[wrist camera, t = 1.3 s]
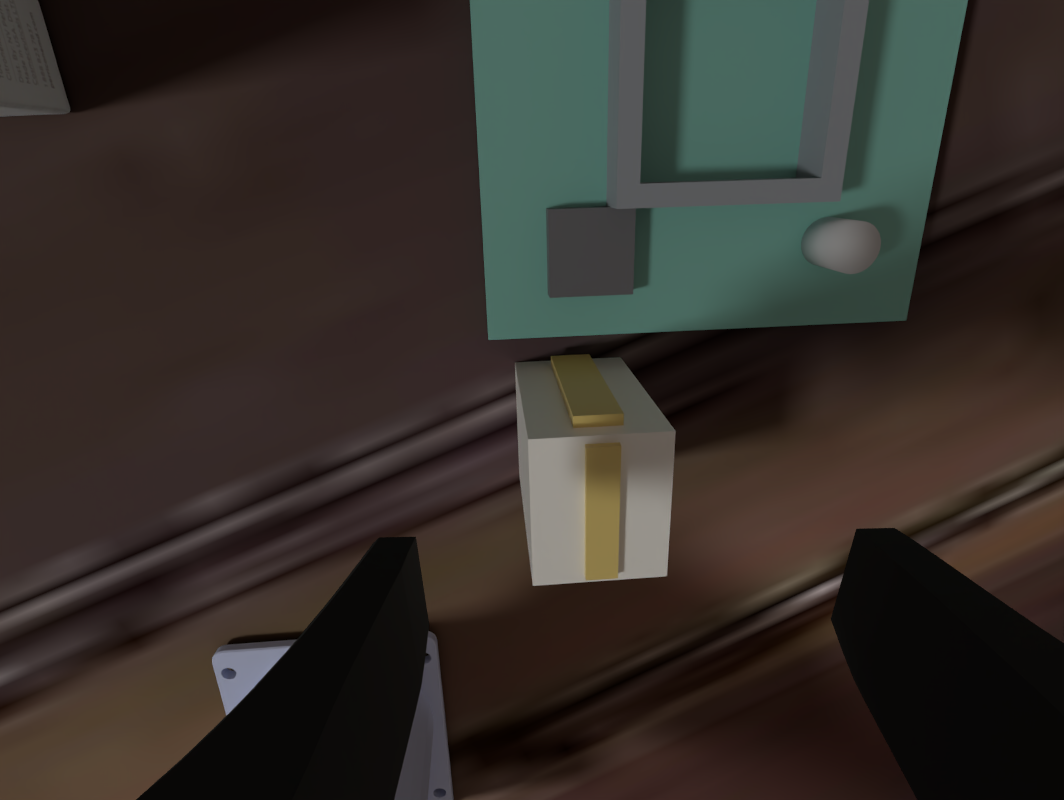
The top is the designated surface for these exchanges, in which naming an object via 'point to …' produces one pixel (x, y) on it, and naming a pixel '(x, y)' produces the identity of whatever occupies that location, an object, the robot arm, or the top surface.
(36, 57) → the small box
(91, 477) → the top surface
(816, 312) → the board
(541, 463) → the plug
